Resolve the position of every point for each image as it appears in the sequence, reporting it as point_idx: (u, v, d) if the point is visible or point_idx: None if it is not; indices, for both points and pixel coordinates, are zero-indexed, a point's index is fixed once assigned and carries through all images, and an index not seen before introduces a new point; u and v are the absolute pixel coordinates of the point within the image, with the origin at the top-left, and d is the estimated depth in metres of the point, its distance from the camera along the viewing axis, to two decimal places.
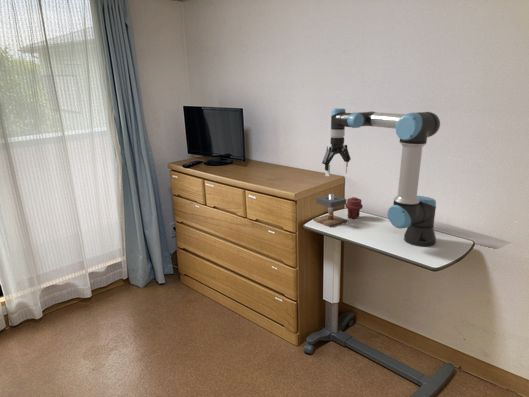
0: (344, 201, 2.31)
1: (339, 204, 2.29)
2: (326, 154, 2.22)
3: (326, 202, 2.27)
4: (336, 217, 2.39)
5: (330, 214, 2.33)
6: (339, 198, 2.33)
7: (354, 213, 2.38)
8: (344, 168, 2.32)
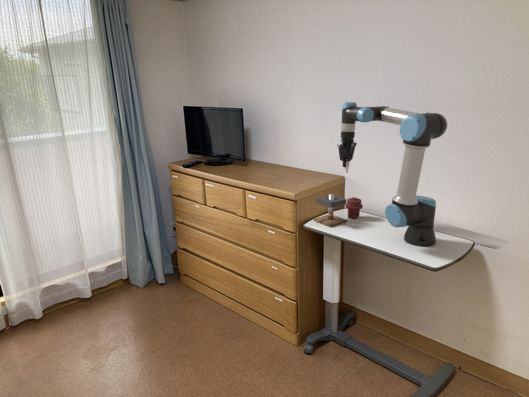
0: (344, 201, 2.31)
1: (339, 204, 2.29)
2: (340, 152, 2.24)
3: (326, 202, 2.27)
4: (336, 217, 2.39)
5: (330, 214, 2.33)
6: (339, 198, 2.33)
7: (354, 213, 2.38)
8: None
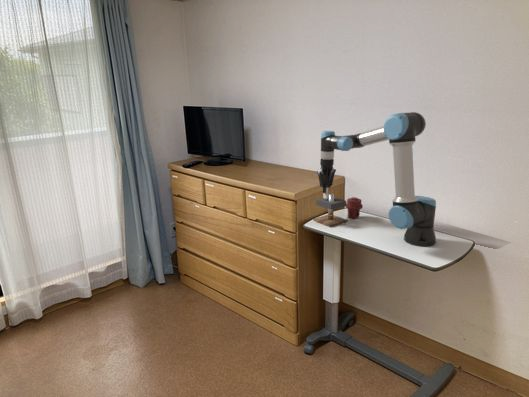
0: (344, 203, 2.31)
1: (339, 206, 2.29)
2: (320, 178, 2.30)
3: (326, 204, 2.28)
4: (336, 217, 2.39)
5: (330, 214, 2.33)
6: (339, 200, 2.33)
7: (354, 213, 2.38)
8: None
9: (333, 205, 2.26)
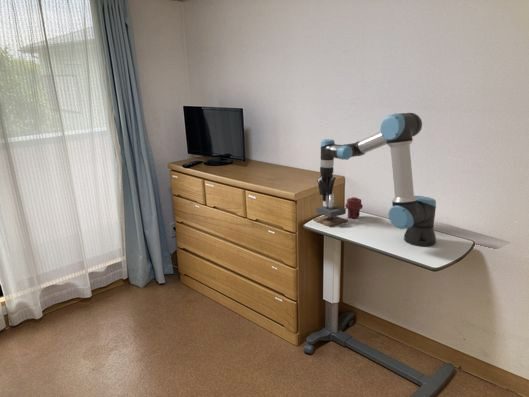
0: (344, 211, 2.32)
1: (339, 214, 2.30)
2: (319, 187, 2.32)
3: (326, 212, 2.29)
4: (336, 217, 2.39)
5: None
6: (338, 208, 2.34)
7: (354, 213, 2.38)
8: None
9: (333, 213, 2.27)
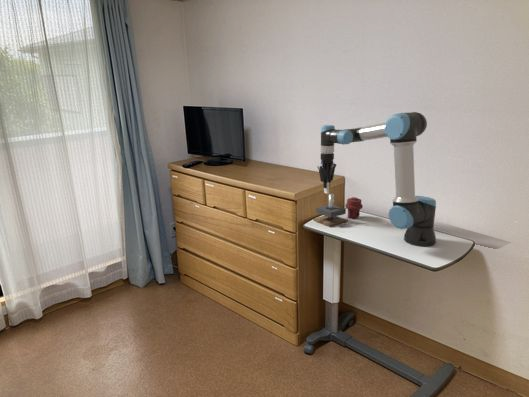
0: (344, 211, 2.32)
1: (339, 214, 2.30)
2: (320, 173, 2.29)
3: (326, 212, 2.29)
4: (336, 217, 2.39)
5: None
6: (338, 208, 2.34)
7: (354, 213, 2.38)
8: None
9: (333, 213, 2.27)
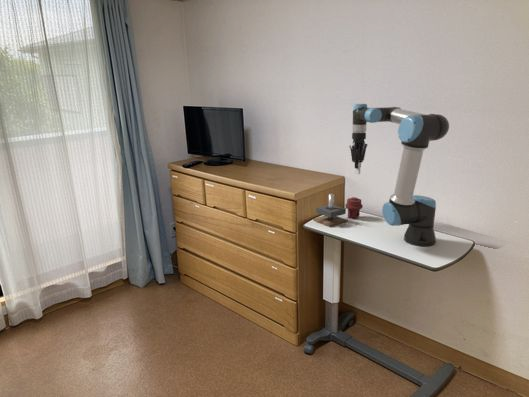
0: (344, 211, 2.32)
1: (339, 214, 2.30)
2: (352, 153, 2.25)
3: (326, 212, 2.29)
4: (336, 217, 2.39)
5: None
6: (338, 208, 2.34)
7: (354, 213, 2.38)
8: None
9: (333, 213, 2.27)
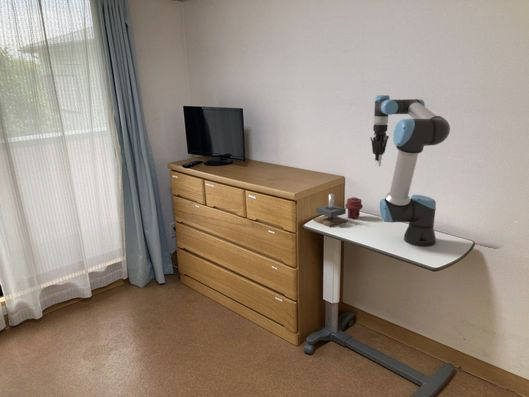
0: (344, 211, 2.32)
1: (339, 214, 2.30)
2: (373, 145, 2.24)
3: (326, 212, 2.29)
4: (336, 217, 2.39)
5: None
6: (338, 208, 2.34)
7: (354, 213, 2.38)
8: None
9: (333, 213, 2.27)
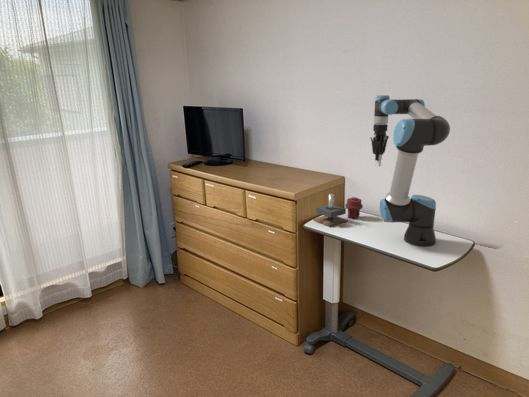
0: (344, 211, 2.32)
1: (339, 214, 2.30)
2: (373, 145, 2.24)
3: (326, 212, 2.29)
4: (336, 217, 2.39)
5: None
6: (338, 208, 2.34)
7: (354, 213, 2.38)
8: None
9: (333, 213, 2.27)
